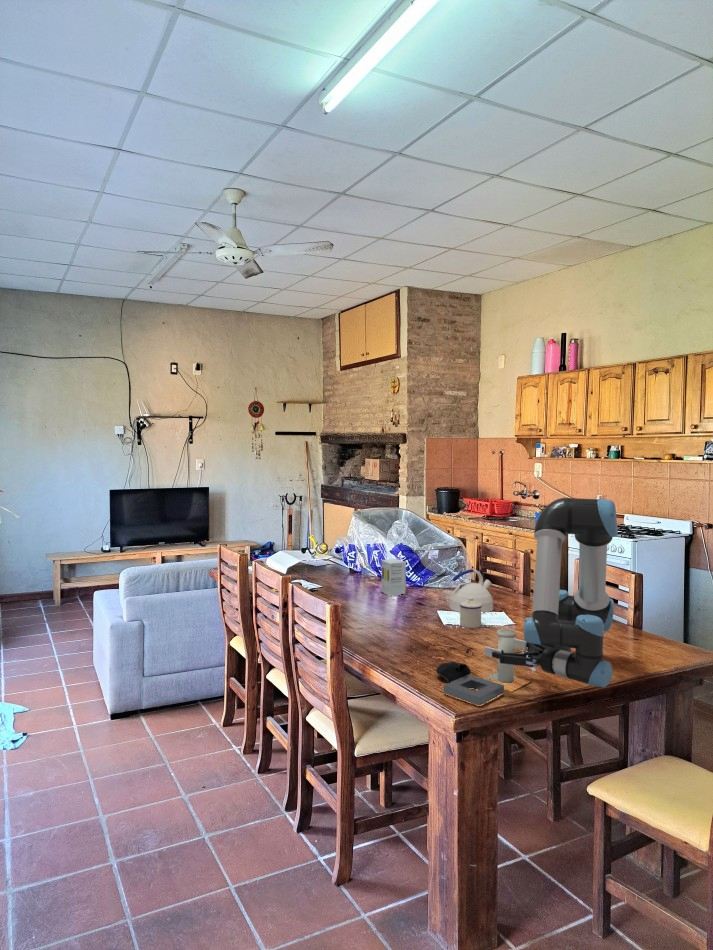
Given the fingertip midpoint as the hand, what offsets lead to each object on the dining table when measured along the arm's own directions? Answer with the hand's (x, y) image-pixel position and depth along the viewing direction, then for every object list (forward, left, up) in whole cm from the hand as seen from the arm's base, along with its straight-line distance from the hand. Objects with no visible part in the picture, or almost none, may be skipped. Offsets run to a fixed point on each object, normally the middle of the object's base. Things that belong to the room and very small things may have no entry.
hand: (497, 645), depth 209 cm
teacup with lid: (-45, -43, -11) cm, 63 cm away
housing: (+16, +2, -11) cm, 20 cm away
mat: (0, +3, -11) cm, 11 cm away
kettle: (-68, -58, -11) cm, 90 cm away
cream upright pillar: (0, +3, -11) cm, 11 cm away
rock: (+10, -10, -11) cm, 18 cm away
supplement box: (-62, -101, -11) cm, 119 cm away
